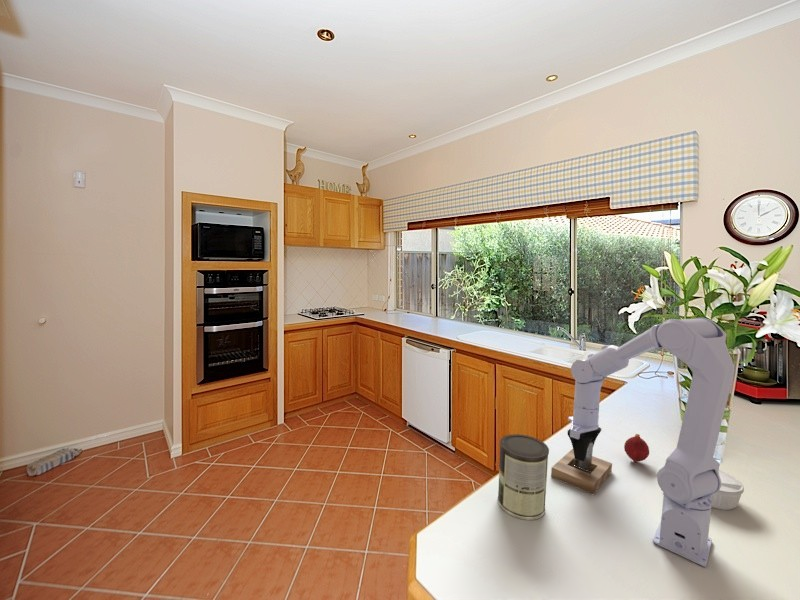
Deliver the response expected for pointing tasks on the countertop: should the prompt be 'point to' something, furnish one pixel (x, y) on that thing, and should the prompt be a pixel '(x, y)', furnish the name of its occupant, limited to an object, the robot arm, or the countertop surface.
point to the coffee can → (523, 476)
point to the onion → (636, 448)
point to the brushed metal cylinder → (586, 458)
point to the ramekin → (727, 492)
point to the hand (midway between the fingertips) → (582, 456)
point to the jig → (581, 473)
